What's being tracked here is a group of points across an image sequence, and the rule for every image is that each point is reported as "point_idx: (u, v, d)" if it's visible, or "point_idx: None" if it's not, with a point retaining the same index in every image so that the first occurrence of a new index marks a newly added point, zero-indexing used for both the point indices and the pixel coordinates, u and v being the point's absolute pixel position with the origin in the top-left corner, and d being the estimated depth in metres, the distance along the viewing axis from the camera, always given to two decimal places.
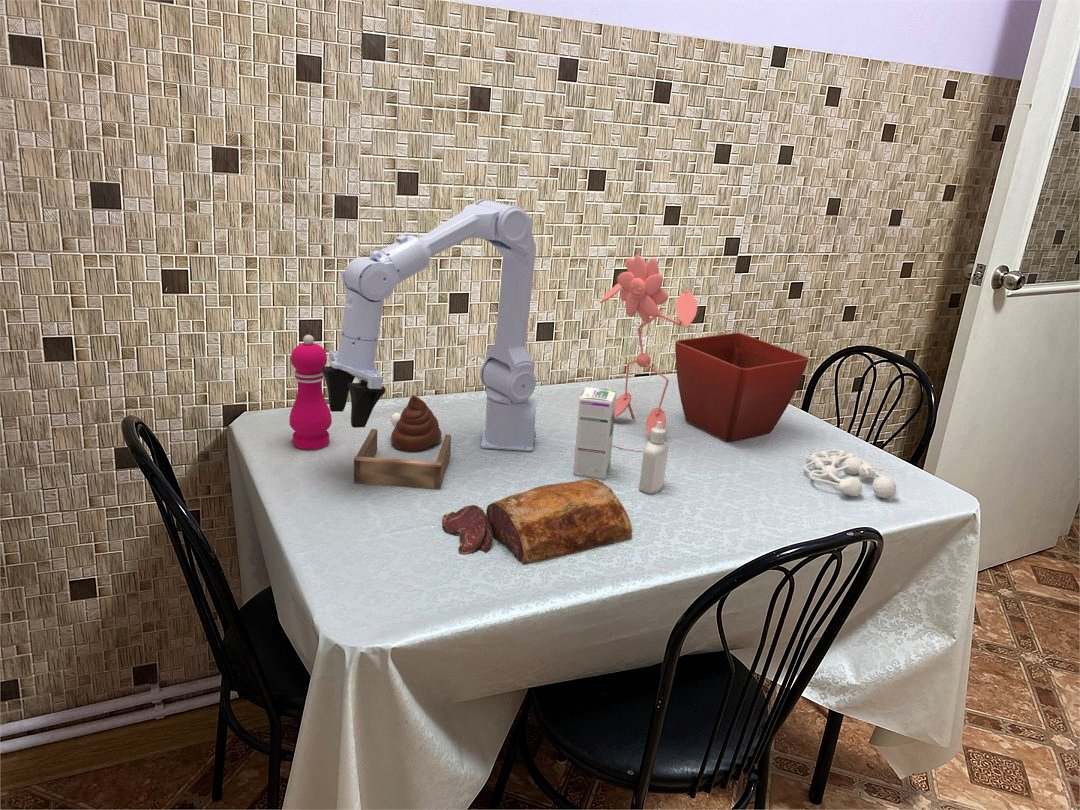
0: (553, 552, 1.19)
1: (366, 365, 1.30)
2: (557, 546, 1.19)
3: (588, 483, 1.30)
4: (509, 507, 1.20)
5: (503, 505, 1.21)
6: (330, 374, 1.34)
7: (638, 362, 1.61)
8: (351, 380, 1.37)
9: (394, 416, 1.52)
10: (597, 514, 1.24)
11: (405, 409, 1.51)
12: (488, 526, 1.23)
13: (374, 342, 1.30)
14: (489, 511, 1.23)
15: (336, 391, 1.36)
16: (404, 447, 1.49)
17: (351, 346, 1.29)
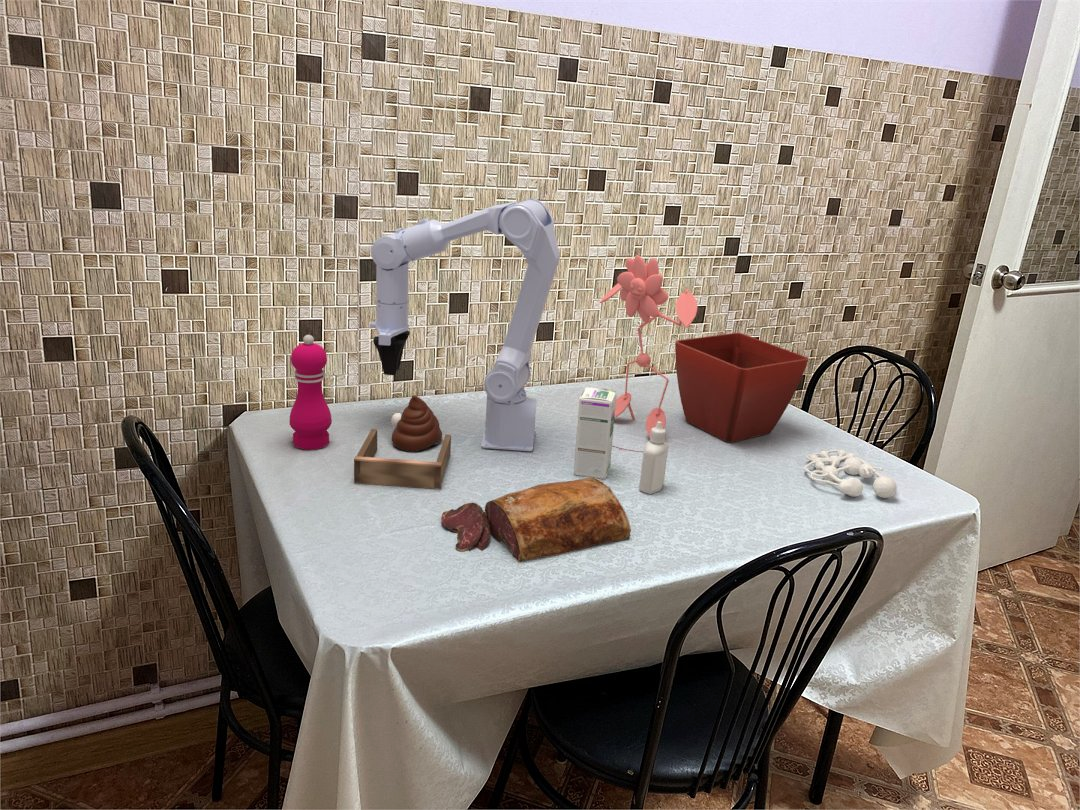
0: (549, 550, 1.19)
1: (391, 325, 1.52)
2: (554, 544, 1.19)
3: (588, 482, 1.30)
4: (506, 504, 1.21)
5: (500, 503, 1.21)
6: None
7: (638, 362, 1.61)
8: None
9: (395, 416, 1.52)
10: (595, 513, 1.24)
11: (406, 409, 1.51)
12: (486, 524, 1.23)
13: (396, 306, 1.51)
14: (487, 509, 1.24)
15: None
16: (405, 447, 1.49)
17: (378, 309, 1.52)
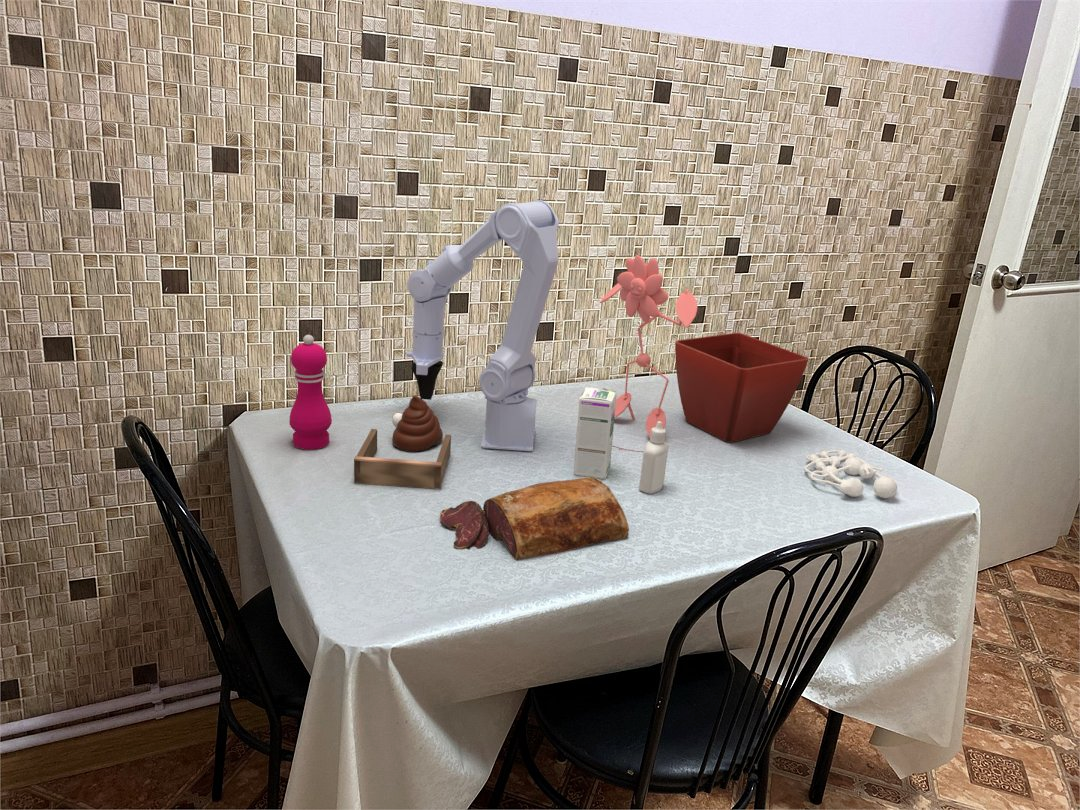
0: (547, 549, 1.20)
1: (427, 355, 1.59)
2: (551, 542, 1.20)
3: (587, 481, 1.30)
4: (504, 503, 1.21)
5: (498, 501, 1.22)
6: None
7: (638, 362, 1.61)
8: None
9: (395, 416, 1.52)
10: (593, 512, 1.24)
11: (406, 409, 1.51)
12: (484, 522, 1.24)
13: (433, 336, 1.58)
14: (486, 507, 1.25)
15: None
16: (405, 447, 1.49)
17: (415, 339, 1.59)
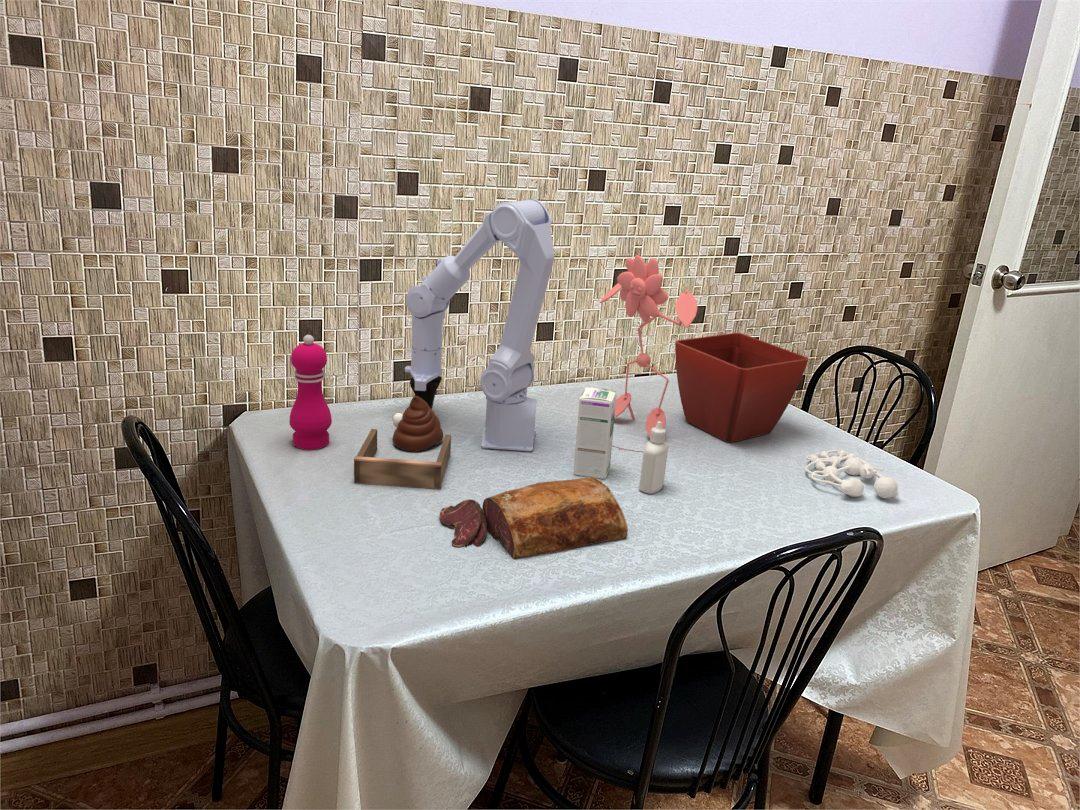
0: (545, 548, 1.20)
1: (425, 371, 1.58)
2: (549, 542, 1.20)
3: (587, 481, 1.30)
4: (503, 501, 1.22)
5: (497, 500, 1.22)
6: None
7: (638, 362, 1.61)
8: None
9: (396, 416, 1.52)
10: (591, 512, 1.24)
11: (407, 409, 1.51)
12: (483, 520, 1.24)
13: (431, 352, 1.57)
14: (485, 506, 1.25)
15: None
16: (406, 447, 1.49)
17: (413, 355, 1.58)
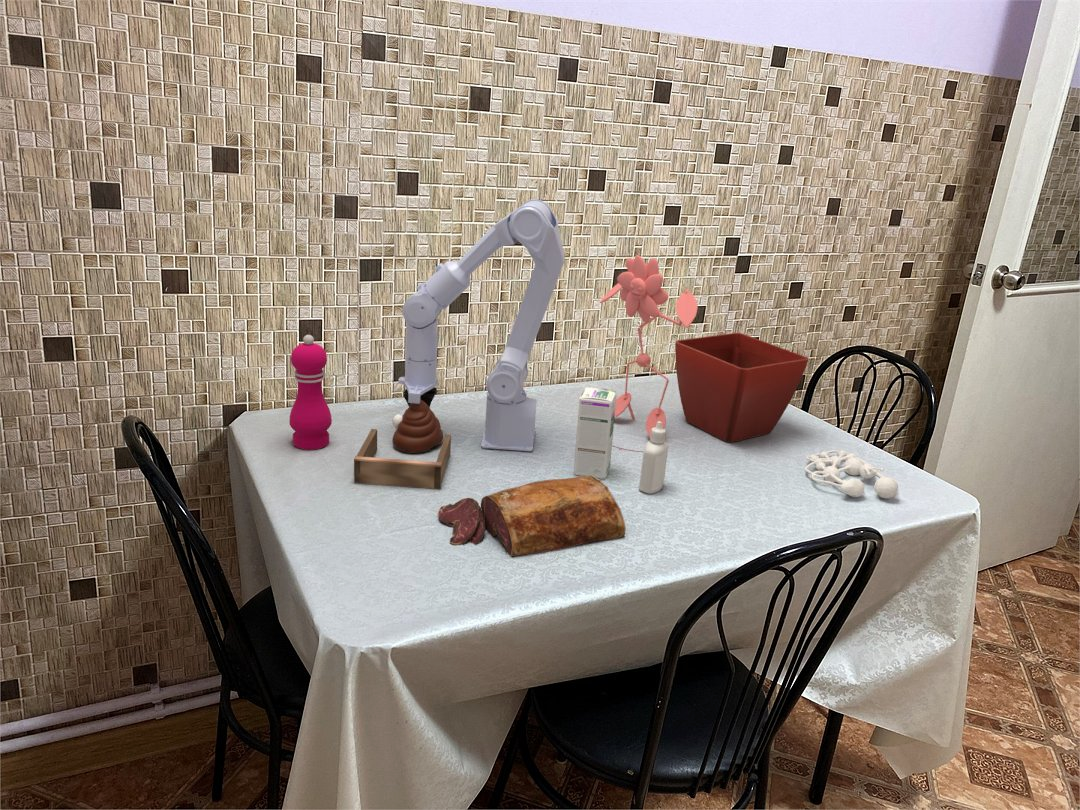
0: (542, 546, 1.20)
1: (420, 382, 1.52)
2: (547, 540, 1.20)
3: (585, 479, 1.31)
4: (501, 500, 1.22)
5: (495, 499, 1.22)
6: None
7: (638, 362, 1.61)
8: None
9: (396, 417, 1.51)
10: (589, 510, 1.25)
11: (407, 410, 1.50)
12: (481, 519, 1.25)
13: (426, 363, 1.51)
14: (483, 504, 1.25)
15: None
16: (406, 449, 1.49)
17: (407, 366, 1.52)
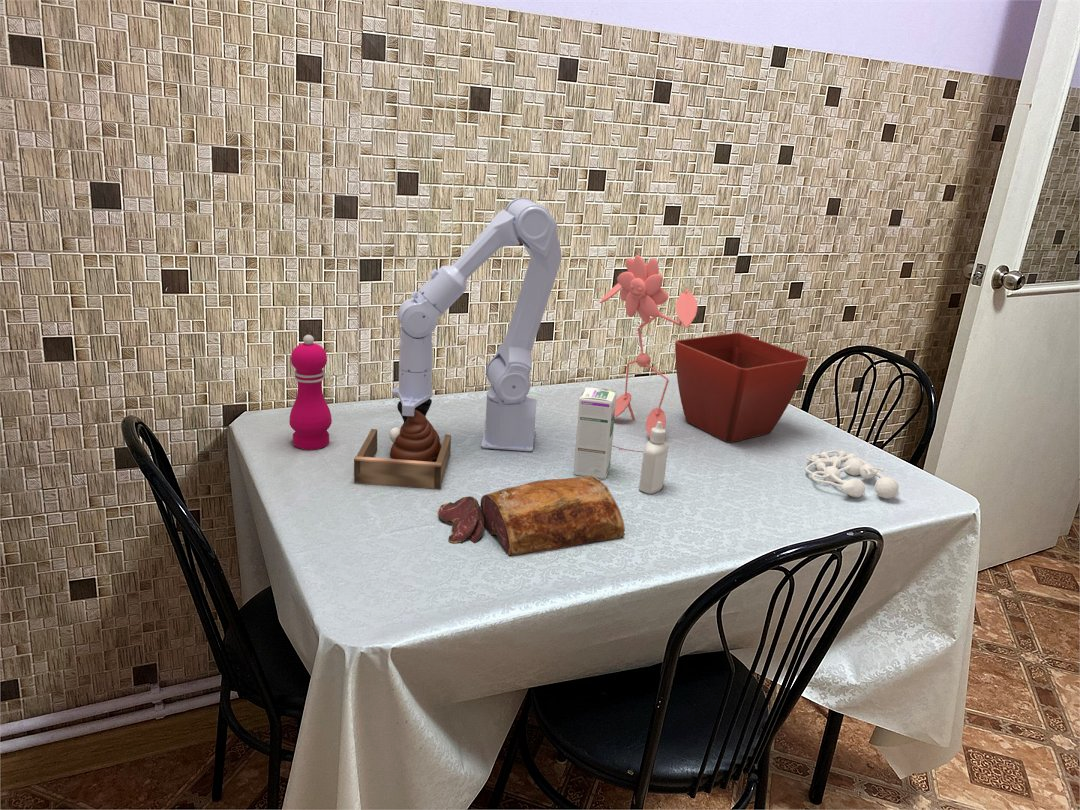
0: (540, 546, 1.20)
1: (414, 394, 1.46)
2: (545, 540, 1.20)
3: (585, 480, 1.31)
4: (500, 499, 1.22)
5: (494, 498, 1.23)
6: None
7: (638, 362, 1.61)
8: None
9: (393, 431, 1.45)
10: (588, 511, 1.25)
11: (405, 423, 1.45)
12: (480, 517, 1.25)
13: (420, 374, 1.45)
14: (482, 503, 1.26)
15: None
16: None
17: (401, 377, 1.46)
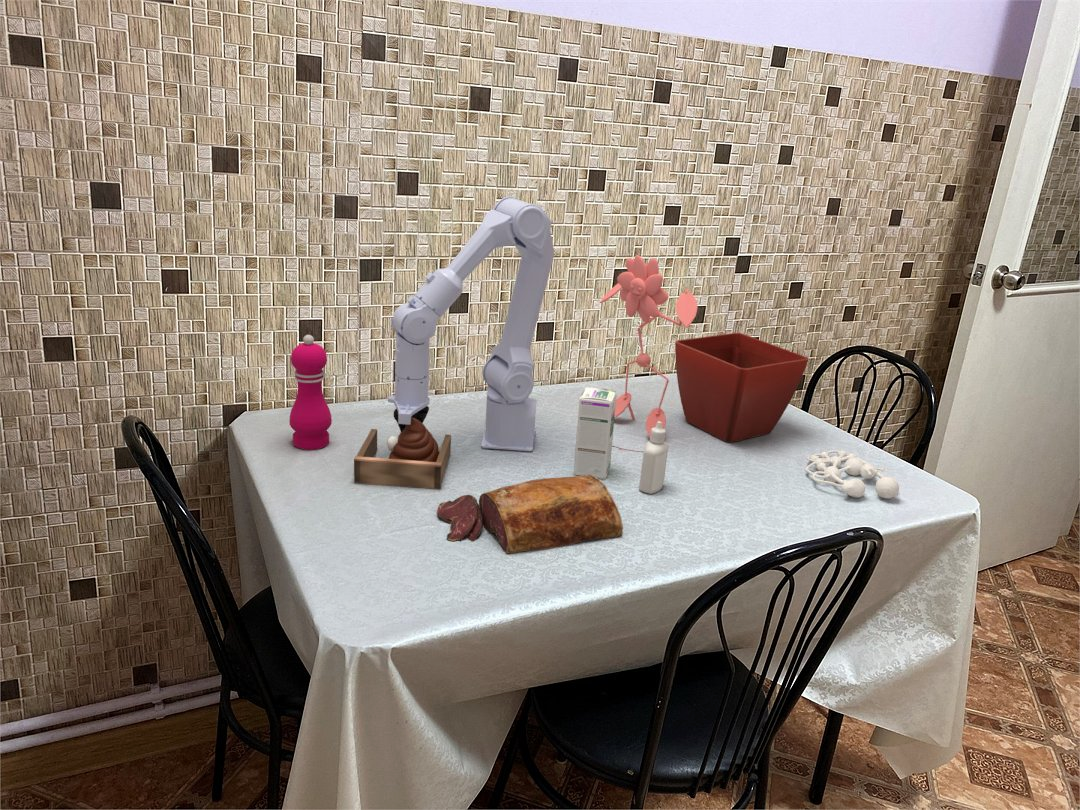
0: (538, 544, 1.21)
1: (411, 401, 1.43)
2: (543, 538, 1.21)
3: (584, 478, 1.31)
4: (498, 497, 1.23)
5: (492, 496, 1.23)
6: None
7: (638, 362, 1.61)
8: None
9: (391, 440, 1.42)
10: (587, 509, 1.25)
11: (403, 432, 1.41)
12: (479, 515, 1.26)
13: (417, 381, 1.42)
14: (481, 501, 1.26)
15: None
16: None
17: (397, 384, 1.43)
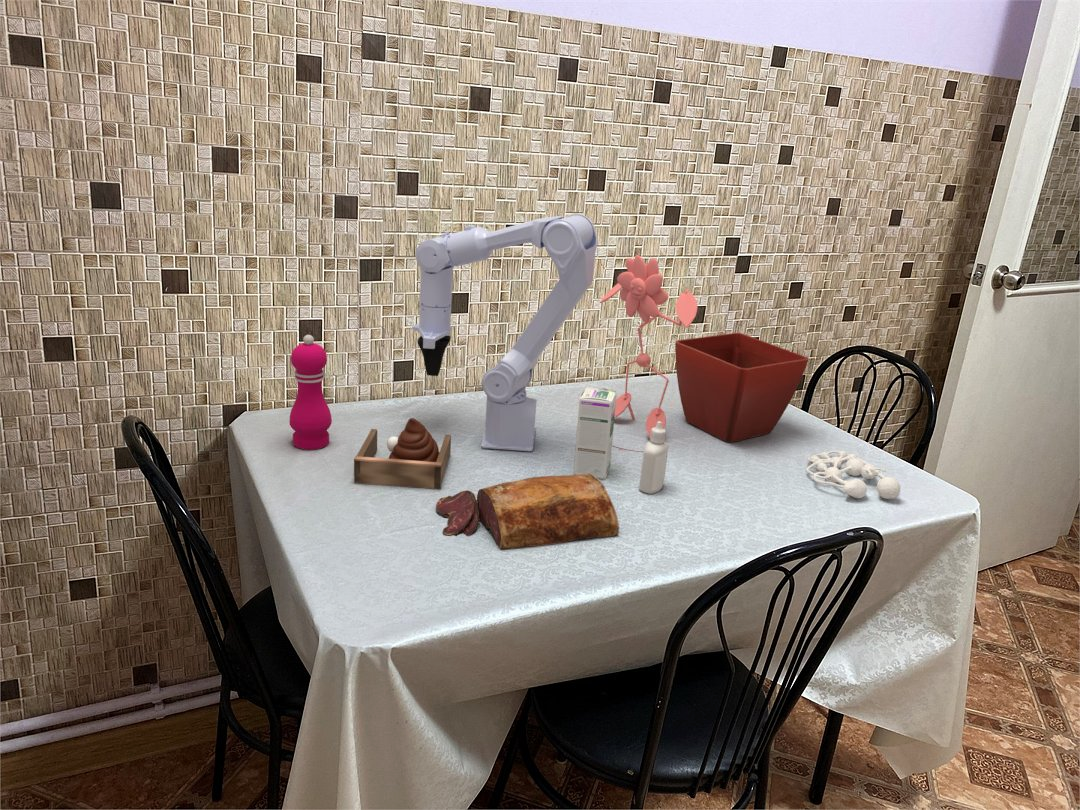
0: (532, 540, 1.22)
1: (434, 329, 1.52)
2: (537, 534, 1.22)
3: (583, 477, 1.31)
4: (494, 493, 1.24)
5: (488, 492, 1.24)
6: None
7: (638, 362, 1.61)
8: None
9: (391, 440, 1.42)
10: (582, 508, 1.25)
11: (403, 433, 1.41)
12: (476, 511, 1.27)
13: (440, 309, 1.51)
14: (478, 497, 1.28)
15: None
16: None
17: (422, 312, 1.52)
